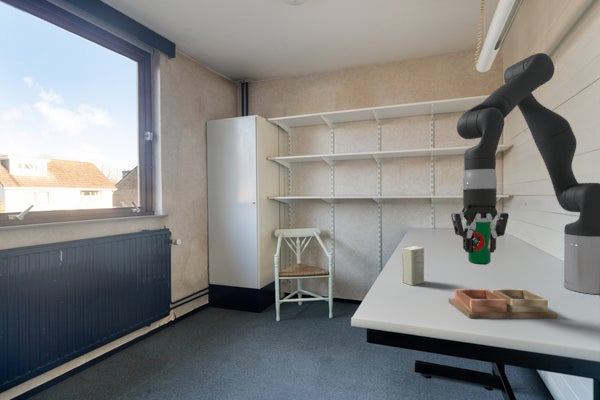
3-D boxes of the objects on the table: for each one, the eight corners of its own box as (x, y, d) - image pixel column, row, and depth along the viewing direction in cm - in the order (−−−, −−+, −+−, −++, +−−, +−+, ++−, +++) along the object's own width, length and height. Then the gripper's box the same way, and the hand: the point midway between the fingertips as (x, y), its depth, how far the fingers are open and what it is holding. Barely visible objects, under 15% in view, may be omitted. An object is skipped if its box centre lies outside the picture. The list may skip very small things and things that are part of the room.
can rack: (524, 301, 85) (524, 287, 85) (556, 318, 74) (556, 301, 74) (448, 302, 86) (448, 287, 86) (469, 318, 75) (469, 302, 75)
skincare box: (414, 279, 108) (414, 245, 107) (424, 283, 104) (424, 247, 104) (401, 282, 105) (401, 247, 104) (411, 286, 101) (411, 249, 100)
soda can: (494, 265, 77) (494, 218, 77) (472, 264, 78) (472, 218, 78) (486, 261, 82) (486, 216, 82) (465, 260, 83) (465, 216, 83)
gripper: (498, 187, 83) (498, 249, 83) (445, 187, 83) (445, 249, 84) (517, 186, 75) (516, 255, 76) (458, 187, 76) (458, 255, 76)
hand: (479, 251), depth 80 cm, fingers closed on soda can, 5 cm apart
